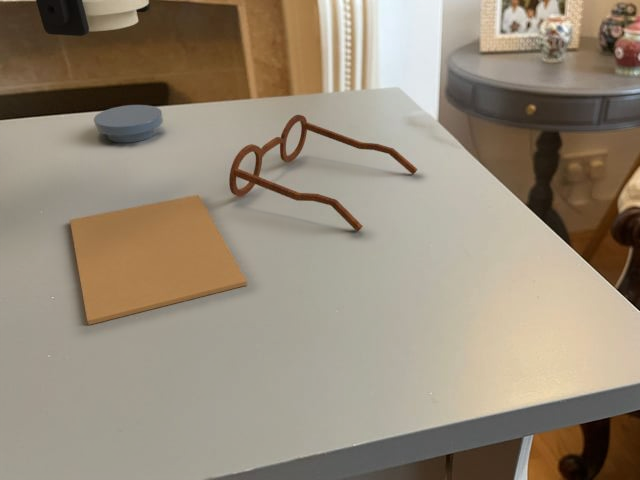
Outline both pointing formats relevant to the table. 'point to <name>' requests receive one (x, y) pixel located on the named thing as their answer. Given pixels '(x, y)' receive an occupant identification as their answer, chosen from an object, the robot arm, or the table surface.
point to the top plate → (112, 13)
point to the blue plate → (129, 122)
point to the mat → (150, 258)
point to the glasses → (274, 142)
